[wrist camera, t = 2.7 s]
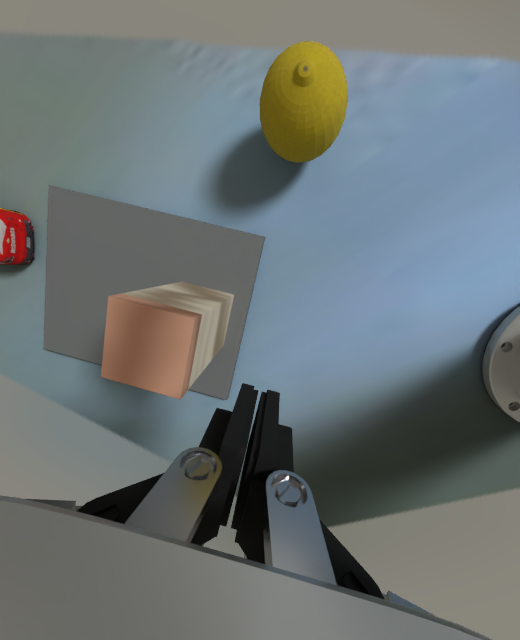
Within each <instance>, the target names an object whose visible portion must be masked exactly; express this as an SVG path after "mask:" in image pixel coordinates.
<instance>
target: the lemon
mask: <svg viewBox="0 0 520 640" xmlns="http://www.w3.org/2000/svg"><path fill="white" fill-rule="evenodd" d="M347 102H348V96H347V81H346V77H345V74H344V70H343V67H342V65H341V63H340V61H339V60H338V58H337V56H336V55H335V54H334V53H333V52H332V51H331V50H330V49H329V48H328V47H326V46H324V45H322V44H320V43H317V42H310V41H306V42H300V43H296V44H294V45H292V46H290V47H288V48H287V49H286V50H284V51H283V52H282V53H281V54H280V55H279V56H278V57H277V58H276V59H275V61H274V62H273V64H272V65H271V67H270V68H269V71H268V73H267V75H266V77H265V80H264V83H263V88H262V92H261V97H260V121H261V125H262V129H263V133H264V135H265V137H266V139H267V141H268V143H269V145H270V147H271V148H272V149H273V150H274V151H275V152H276V154H278V155H279V156H281V157H282V158H284V159H285V160H288V161H291V162H307V161H310V160H313V159H315V158H317V157H318V156H320V155H322V154H323V153H324V152H325V151H326V150H327V149H328V148H329V147H330V146H331V145H332V143H333V142H334V140H335V139H336V137H337V136H338V134H339V132H340V129H341V127H342V124H343V122H344V119H345V114H346V108H347Z"/></svg>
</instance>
